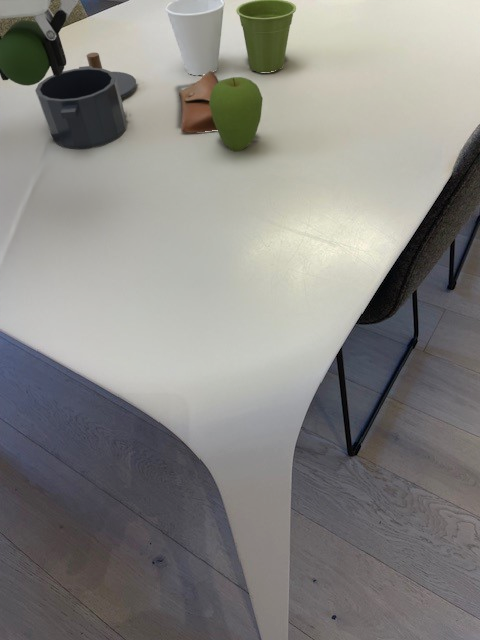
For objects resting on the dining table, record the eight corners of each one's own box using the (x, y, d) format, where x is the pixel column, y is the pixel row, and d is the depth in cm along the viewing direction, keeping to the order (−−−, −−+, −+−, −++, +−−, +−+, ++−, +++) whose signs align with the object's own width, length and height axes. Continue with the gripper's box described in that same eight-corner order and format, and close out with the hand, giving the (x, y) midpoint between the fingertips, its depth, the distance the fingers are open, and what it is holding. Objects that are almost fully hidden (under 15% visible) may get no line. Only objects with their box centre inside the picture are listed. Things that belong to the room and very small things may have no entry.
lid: (60, 110, 98) (48, 72, 92) (73, 80, 108) (62, 44, 102) (134, 103, 98) (125, 65, 92) (139, 74, 107) (132, 38, 102)
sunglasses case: (176, 91, 99) (189, 58, 95) (207, 105, 102) (221, 74, 98) (180, 133, 87) (195, 98, 83) (216, 148, 90) (232, 115, 86)
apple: (248, 165, 79) (244, 93, 71) (204, 154, 83) (195, 84, 74) (272, 140, 84) (271, 70, 76) (230, 131, 87) (224, 63, 79)
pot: (42, 160, 85) (23, 111, 78) (63, 110, 98) (48, 65, 91) (121, 153, 85) (108, 104, 78) (131, 104, 97) (121, 59, 91)
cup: (164, 77, 106) (153, 11, 96) (191, 56, 113) (183, -7, 103) (213, 84, 102) (207, 16, 93) (238, 62, 109) (234, -3, 100)
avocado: (49, 91, 58) (32, 40, 54) (2, 95, 58) (-19, 43, 54) (65, 60, 64) (50, 12, 60) (22, 63, 65) (5, 15, 60)
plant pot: (254, 83, 101) (251, 22, 92) (231, 64, 108) (227, 5, 100) (304, 71, 103) (307, 10, 95) (279, 53, 111) (279, -5, 103)
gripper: (-140, -108, 45) (-45, 92, 59) (46, -122, 45) (98, 81, 58) (-105, -119, 50) (-25, 67, 64) (62, -132, 50) (107, 57, 64)
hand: (33, 72), depth 61 cm, fingers closed on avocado, 5 cm apart
